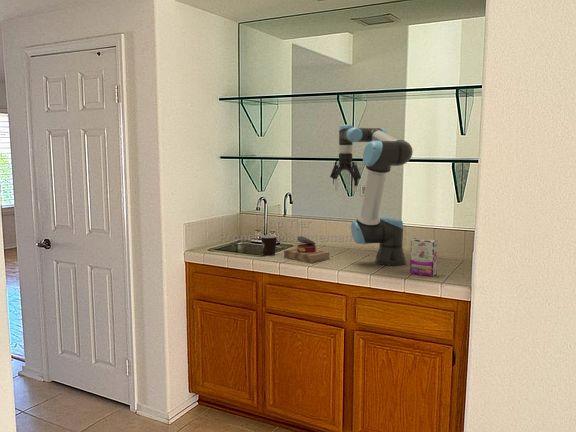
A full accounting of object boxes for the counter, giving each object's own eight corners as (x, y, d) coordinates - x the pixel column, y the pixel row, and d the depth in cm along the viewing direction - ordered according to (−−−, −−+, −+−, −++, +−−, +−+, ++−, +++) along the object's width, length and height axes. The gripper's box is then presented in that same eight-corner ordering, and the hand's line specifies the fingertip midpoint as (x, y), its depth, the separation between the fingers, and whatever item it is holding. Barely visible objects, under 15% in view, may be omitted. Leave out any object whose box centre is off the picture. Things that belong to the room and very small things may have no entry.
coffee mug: (276, 256, 284) (276, 238, 282) (260, 256, 284) (260, 238, 283) (277, 251, 295) (277, 234, 294) (262, 251, 295) (262, 234, 294)
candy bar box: (436, 274, 242) (437, 240, 240) (432, 276, 238) (434, 241, 236) (413, 271, 248) (414, 237, 246) (409, 273, 244) (410, 239, 242)
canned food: (297, 259, 279) (293, 241, 282) (314, 255, 281) (310, 238, 285) (301, 252, 268) (297, 234, 272) (320, 249, 271) (315, 232, 274)
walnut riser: (329, 259, 275) (329, 252, 275) (311, 263, 265) (311, 255, 265) (302, 254, 289) (302, 246, 289) (284, 257, 280) (284, 250, 279)
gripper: (367, 153, 283) (367, 191, 285) (333, 152, 300) (332, 189, 303) (359, 153, 277) (358, 192, 280) (324, 152, 295) (323, 190, 298)
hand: (345, 191), depth 292 cm, fingers open, 13 cm apart
